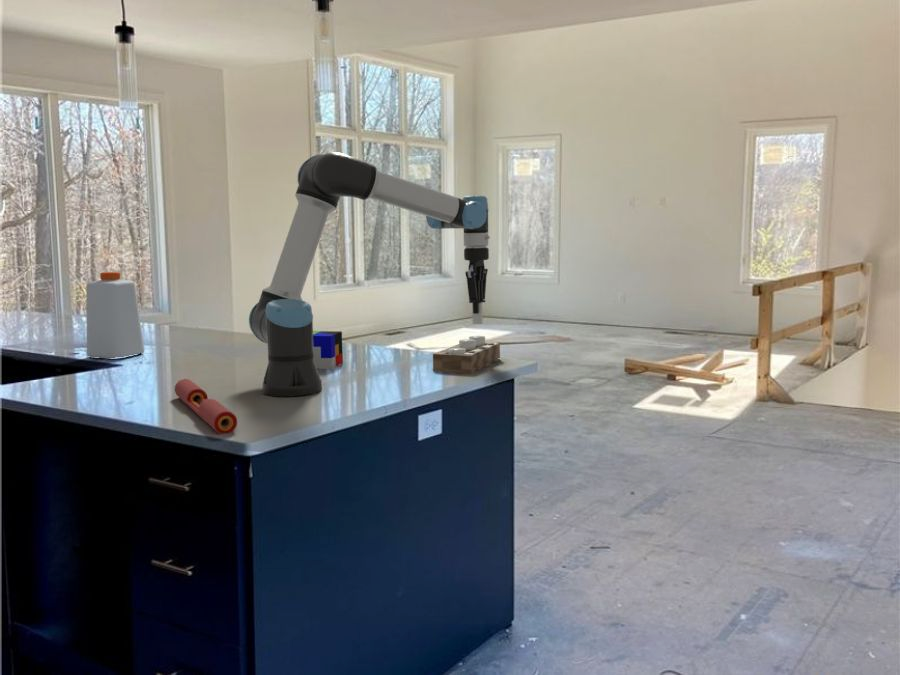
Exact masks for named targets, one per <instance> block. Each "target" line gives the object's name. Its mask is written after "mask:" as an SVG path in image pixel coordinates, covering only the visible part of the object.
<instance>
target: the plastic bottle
mask: <svg viewBox="0 0 900 675" xmlns="http://www.w3.org/2000/svg"><path fill="white" fill-rule="evenodd" d="M99 276H100V277H99V278H100V279H99V280H94V281H91V282H90V281H89V282H88V283H87V284H86V288H85V290H86V297H85V298H86V302H85V304H86V306H85V307H86V308H85V309H86V310H85V311H86V356H87V357H88V356H90V357H99V358H115V357H124V356H129V355H134V354H140V353H143V354H144V352H145V346H144V339H143V338H144V337H143V331H142V325H141V324H142V323H141V319H140V309H139V304H138V297H137V289H136V284H135V282H134V281H133V280H130V279H121V273H120V272H119V271H104V272H103V271H102V272H100V274H99Z"/></svg>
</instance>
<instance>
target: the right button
mask: <svg viewBox="0 0 900 675" xmlns="http://www.w3.org/2000/svg"><path fill="white" fill-rule="evenodd" d="M468 339H473V340H476V346H478V347H482V346H484V345H485V343H486V336H484V335H470V336H469V337H468Z"/></svg>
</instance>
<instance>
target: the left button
mask: <svg viewBox="0 0 900 675" xmlns="http://www.w3.org/2000/svg"><path fill="white" fill-rule="evenodd" d="M465 353H466V349H465V348H451V349H449V354H455V355H463V354H465Z"/></svg>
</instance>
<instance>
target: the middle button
mask: <svg viewBox="0 0 900 675" xmlns="http://www.w3.org/2000/svg"><path fill="white" fill-rule="evenodd" d="M458 344H459V348H465V349H466V350H469V351H472V350H474V349H476V340H473V339H469V338H467V339H465V338H464V339H460V340H459V341H458Z"/></svg>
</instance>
